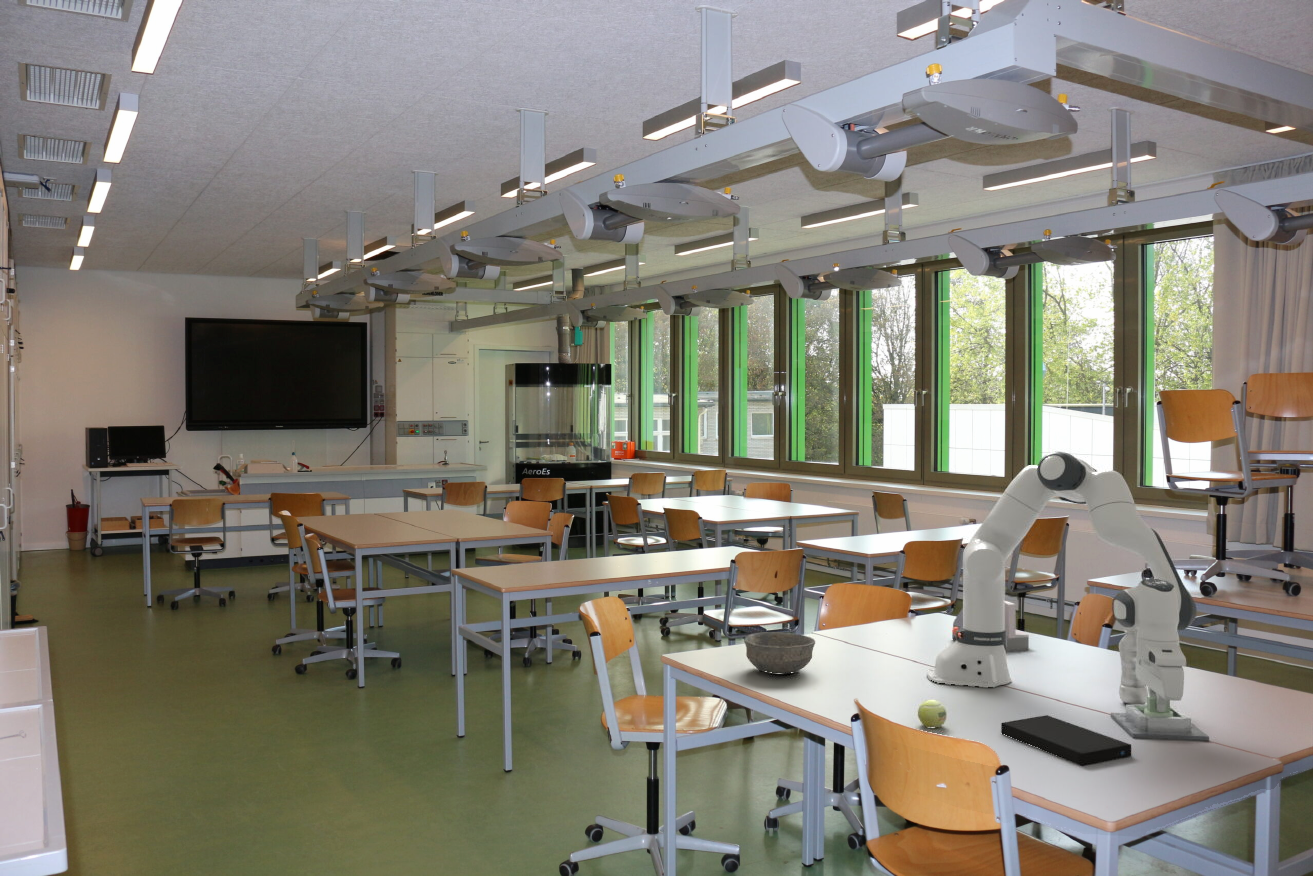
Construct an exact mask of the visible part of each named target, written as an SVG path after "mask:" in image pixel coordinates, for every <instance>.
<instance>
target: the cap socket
mask: <svg viewBox="0 0 1313 876" xmlns="http://www.w3.org/2000/svg"><path fill="white" fill-rule="evenodd" d="M1145 708H1147V703H1145V704H1132V705H1131V704H1125V712H1110V718H1111V719H1113V721H1115V723H1117V724H1118V725H1119V726H1120V727H1121V728H1122V729H1123V730H1124V731H1125V732H1126V733H1127V734H1128V735H1130V736H1131V738H1133V739H1149V740H1150V739H1152V740H1153V739H1154V740H1156V739H1157V740H1176V741H1177V740H1179V741H1197V742H1198V741H1199V742H1210V736H1209V735H1208V734H1206V733H1205V732H1204V731H1203V730H1201V729H1200V728H1198V727H1197V726H1196V725H1194V723H1193V722H1192V718H1191V717H1190V716H1189V715H1187V714H1186V713H1185V712H1183V711H1182V710H1181V709H1179V708H1178V707H1176V706H1172V705H1170V711H1172V712H1173V717H1165V716H1145V715H1144V709H1145Z"/></svg>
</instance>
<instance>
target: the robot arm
mask: <svg viewBox="0 0 1313 876" xmlns="http://www.w3.org/2000/svg"><path fill="white" fill-rule="evenodd" d="M1054 498H1059V499H1060V500H1061V501H1064V502H1067V503H1069V502H1070V503H1072V504H1076V505H1086V507H1087V512H1088V516H1089V519H1090V524H1091V527H1092V529H1093V532H1094V533H1095V535H1096V536H1097V537H1098V538H1099V539H1100V540H1101V541H1102V542H1105V543H1106V544H1108V545H1111V546H1112V547H1115V548H1120V549H1123V550H1126V551H1129V552H1131V553H1133V554H1135V555H1137V556H1140V557H1141V558H1142V559H1143V560H1144V561H1145V562H1146V563H1147V565H1148V567H1149V568H1150V571H1151V573H1152V576H1153V577H1154V578H1147V579H1143V580H1140V581H1139V583H1138V584H1137V586H1134V587H1129V588H1125V589H1121V590H1119V591H1118V592H1117V593H1116V594H1115V596H1114V598H1113V599H1112V602H1111V603H1112V604H1111V605H1112V606H1111V607H1112V608H1111V609H1112V616H1113V618H1114V619H1115V620H1116V622H1117V623H1118V624H1120V626H1122V627H1124V628H1125V627H1127V628H1133V629H1137V630H1138V632H1137V656H1136V677H1137V679H1139V680H1140V681H1141V682H1143V683H1144V684H1145V685H1146V687H1147V692H1148V697H1157V703H1156V702H1155V706H1156V707H1155V709H1156V710H1157V711H1159V712H1165V711H1166V703H1167V700H1170V701H1178V702H1179V701H1181V700H1182V699H1183V697H1184V687H1185V686H1184V684H1185V671H1184V667H1186V666H1187V658H1186V656H1185V655H1184V653H1183V651H1182V649H1181V646H1180V636H1179V633H1178V631H1184V630H1187V629H1188V627H1190V626H1191V625H1192V623H1193V622H1194V621H1195V620H1196V617H1197V613H1198V611H1197V609H1198V608H1197V604H1196V602H1195V599H1194V597H1193V595H1191V593H1190V592H1189V591H1188V589H1187V588H1186V586H1185V584H1184V583H1183V581H1182V579H1181V577H1180V575H1179V573H1178V570H1177V569H1176V566H1175V564H1174V562H1173V561H1172V558H1171V556H1170V553H1169V552H1168V549H1167V548H1166V546H1165V543H1164V542H1163V540H1162V538H1161V536H1160V535H1159V533H1158V532H1157V531H1156V530H1155V529H1153V528H1152V527H1150V526H1149V525H1148V524H1147V523H1146V522H1145V521H1144V519H1143V518H1142V517H1141V516H1140V513H1139V512H1138V510H1137V507H1136V502H1135V500H1134V498H1133V495H1132V493H1131V490H1130V488H1129V485H1128V484H1127V482H1126V479H1125V478H1124V477H1123V475H1122V474H1121V473H1120V472H1118V471H1116V470H1112V469H1102V470H1097V469H1095V468H1093V467H1092V466H1091V465H1090V464H1088V463H1087V462H1086V461H1084V460H1083V459H1080V458H1078V457H1075V456H1074V455H1072V454H1071V453H1068V452H1064V451H1051V452H1048V453H1047V454H1045V455H1044V456H1043V457H1042V458H1041V459H1040V460H1039V462H1038V465H1035V464H1031V465H1026V466H1024V467H1023V468H1022V470H1021V471H1019V473H1018V474H1017V475H1016V476H1015V477H1014V478H1013V479H1012V480H1011V482H1010V483H1009V484H1008V486H1007V488H1005V490H1004V492H1003V493H1002V494H1001V496H1000V497H999V499H997V502H996V503H995V505H994V506H993V508H992V509H991V510H990V512H989V514H988V515H987V516H986V518H985V519H984V521H983V522H982V523H981V524H980V526H979V528H978V529H977V530H976V532H975V533H974V534H973V536H972V537H971V539H970V540H969V542H968V543H967V544H966V546H965V547H964V549H963V553H962V578H963V579H962V608H963V627H962V628H960V629H958V627H954V629H953V628H952V629H951V631H952V632H953V633H954V634H955V635H956V641H953V643H951V644H949V645H948V646H947V647H945V648H944V649H942V650H941V651H939V653H938V654H937V656H936V659H935V662H934V663H935V664H934V667H932V668H929V669H928V670H927V672H926V677H927V676H928V677H927V678H928V679H929V681H931V680H932V681H931V682H933V681H934V682H933V683H935V682H937V683H936V684H939V683H945V684H944V685H951V684H955V685H954V686H963V685H968V686H967V687H975V686H979V688H988V687H993V688H996V687H998V686H1003V685H1007V684H1009V683H1011V682H1012V678H1011V675H1010V672H1009V666H1008V662H1007V653H1006V652H1007V651H1006V647H1007V634H1006V630H1005V601H1006V600H1005V599H1006V598H1005V595H1006V561H1007V559H1009V557H1010V555H1012V553H1013V551H1015V549H1016V548H1017V547H1018V545H1019V544H1020V543H1021V542H1022V540H1023V539H1024V538H1025V537H1026V535H1027V534H1028V533H1029V531H1030V529H1031V528H1032V526H1033V525H1034V523H1035V522H1036V521H1037V519H1038V518H1039V516H1040V515H1041V513H1042V512H1043V510H1044V508H1045V507H1046V505H1047V504H1048V503H1049V501H1051V500H1052V499H1054Z"/></svg>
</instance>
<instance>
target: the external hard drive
mask: <svg viewBox="0 0 1313 876" xmlns="http://www.w3.org/2000/svg"><path fill="white" fill-rule="evenodd" d="M1000 727H1001V733H1002V734H1001V735H1003V734H1005V735H1007V736H1006V737H1008V736H1010V737H1012V738H1011V739H1013V738H1014V739H1013V740H1015V739H1017V740H1016V741H1018V740H1019V741H1018V742H1020V741H1022V742H1021V743H1023V742H1024V743H1023V744H1025V743H1027V744H1026V745H1028V744H1030V745H1032V746H1031V747H1033V746H1035V747H1038V748H1040V749H1042V750H1041V751H1043V750H1044V751H1043V752H1045V751H1047V752H1046V753H1048V752H1049V753H1048V754H1050V753H1052V754H1051V755H1053V754H1054V755H1053V756H1055V755H1057V756H1056V757H1058V758H1061V759H1063V760H1066V761H1068V762H1070V761H1071V762H1070V763H1073V764H1075V763H1076V765H1078V766H1080V767H1086V766H1090V765H1095V764H1100V763H1101V764H1102V763H1105V762H1111V761H1116V760H1120V759H1125V758H1130V757H1132V744H1130V743H1127V742H1125V741H1122V740H1118V739H1116V738H1113V737H1110V736H1108V735H1104V734H1102V733H1099V732H1096V731H1093V730H1090V729H1087V728H1085V727H1082V726H1079V725H1077V724H1073V723H1071V722H1067V721H1066V720H1062V719H1059V718H1056V717H1053V716H1050V715H1047V714H1046V715H1045V714H1044V715H1041V716H1040V715H1039V716H1035V717H1034V716H1033V717H1028V718H1023V719H1022V718H1021V719H1017V720H1009V721H1004V722H1001V726H1000ZM1005 735H1004V736H1005ZM1010 737H1009V738H1010ZM1030 745H1029V746H1030ZM1035 747H1034V748H1035ZM1038 748H1037V749H1038ZM1040 749H1039V750H1040Z"/></svg>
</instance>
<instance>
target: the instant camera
mask: <svg viewBox="0 0 1313 876" xmlns="http://www.w3.org/2000/svg"><path fill="white" fill-rule="evenodd" d="M1016 616H1017V615H1016V604H1015V603H1013V602H1011V601H1007V600H1005V630H1006V634H1007V647H1006V652H1011V650H1014V651H1026V650H1025V649H1028V650H1029V636H1030V635H1029V634H1028V633H1026V632H1024V631H1021V630H1019V629H1016V628H1017V627H1016V623H1017V621H1016ZM954 627H958V629H960V628H962V627H963V607H962V608H961V610H960V611H959V612H958V614H957V616H956V617H955V619H954V621H953V623H952V630H953V629H954ZM951 634H952V639H953V640H954V641H953V640H952V641H953V642H955V641H956V635H955V634H954V633H953V632H952V633H951Z"/></svg>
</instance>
